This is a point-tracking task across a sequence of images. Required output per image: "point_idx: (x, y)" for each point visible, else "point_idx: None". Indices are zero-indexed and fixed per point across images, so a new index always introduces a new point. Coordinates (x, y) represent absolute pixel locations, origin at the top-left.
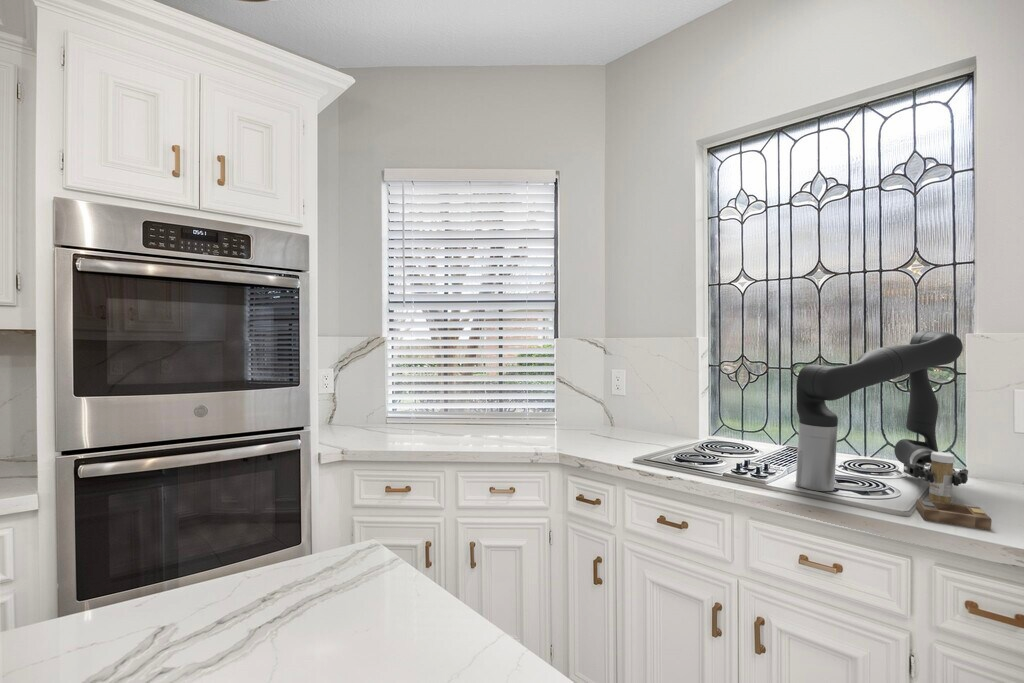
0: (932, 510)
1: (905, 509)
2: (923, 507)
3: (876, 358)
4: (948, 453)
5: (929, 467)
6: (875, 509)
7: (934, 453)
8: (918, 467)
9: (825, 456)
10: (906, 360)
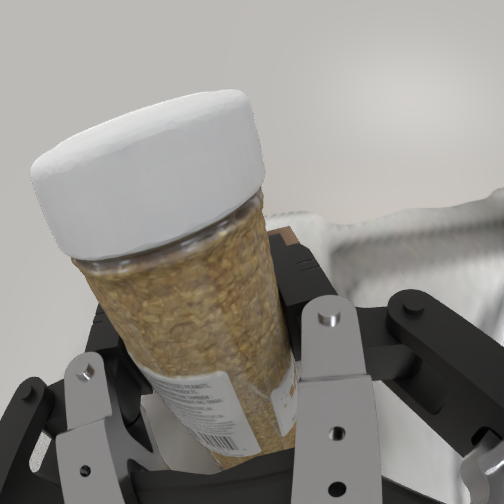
0: (269, 231)
1: (361, 302)
2: (294, 234)
3: None
4: (47, 153)
5: (303, 378)
6: (411, 243)
7: (219, 90)
8: (406, 330)
9: None
10: None
